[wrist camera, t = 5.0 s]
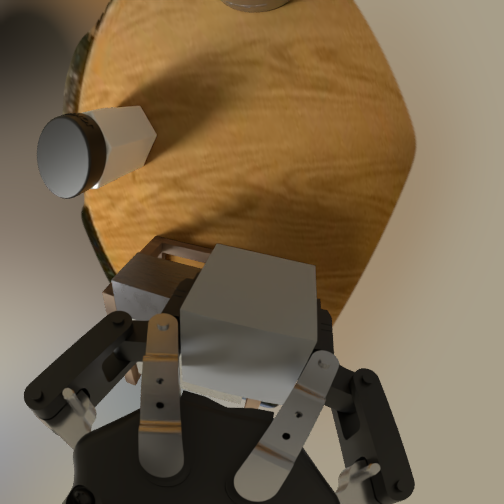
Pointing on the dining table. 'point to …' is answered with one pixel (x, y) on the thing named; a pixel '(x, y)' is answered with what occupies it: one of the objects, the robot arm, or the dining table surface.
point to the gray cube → (249, 324)
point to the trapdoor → (155, 299)
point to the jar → (93, 148)
